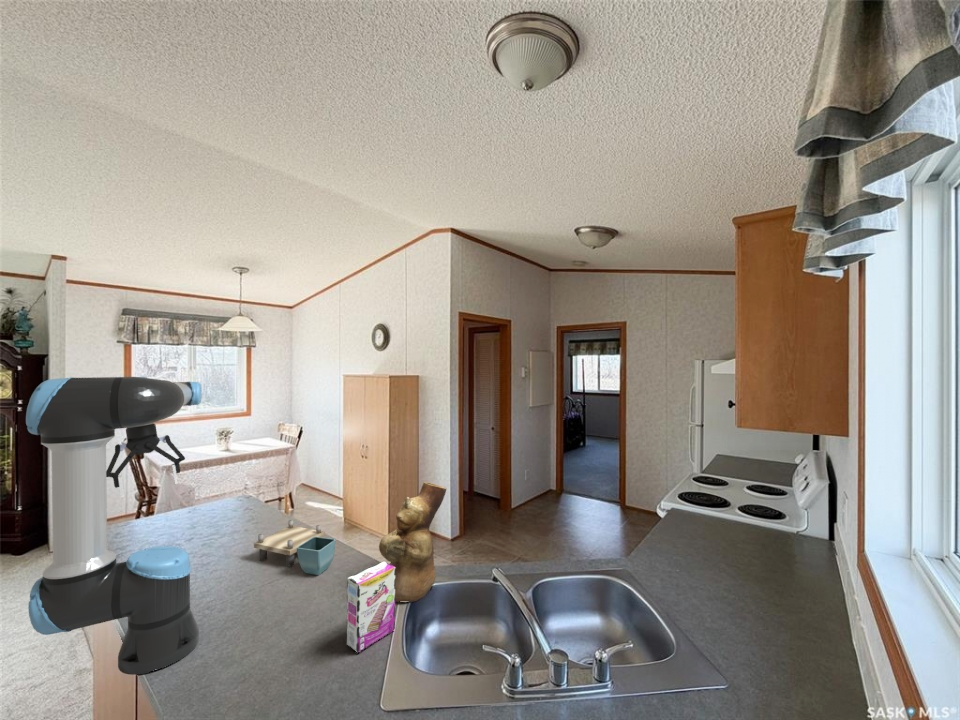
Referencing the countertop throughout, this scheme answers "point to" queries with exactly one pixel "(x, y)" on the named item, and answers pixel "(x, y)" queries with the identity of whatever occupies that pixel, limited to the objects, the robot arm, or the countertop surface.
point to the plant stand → (286, 541)
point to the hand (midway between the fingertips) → (150, 490)
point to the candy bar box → (370, 605)
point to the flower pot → (316, 554)
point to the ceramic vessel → (413, 544)
